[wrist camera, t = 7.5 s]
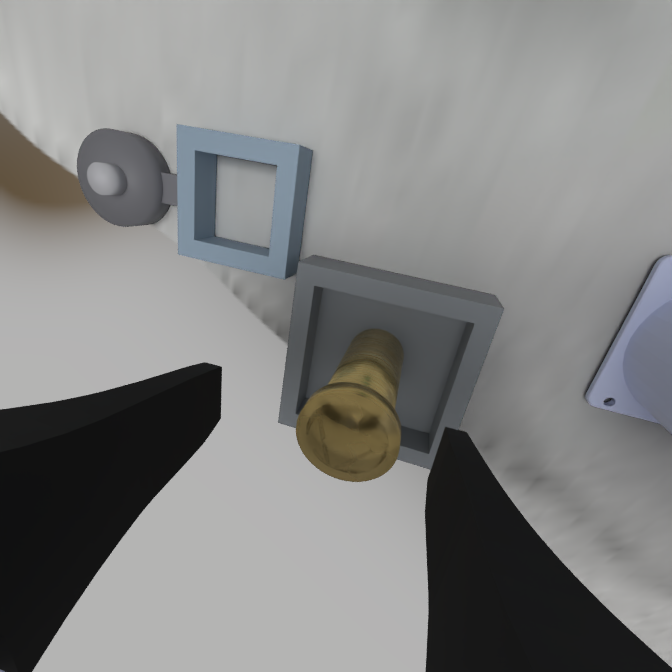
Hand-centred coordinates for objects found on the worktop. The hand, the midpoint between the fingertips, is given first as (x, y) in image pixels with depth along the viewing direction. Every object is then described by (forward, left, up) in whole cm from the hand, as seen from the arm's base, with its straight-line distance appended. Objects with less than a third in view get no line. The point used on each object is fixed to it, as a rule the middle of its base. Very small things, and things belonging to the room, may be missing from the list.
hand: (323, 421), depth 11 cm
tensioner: (+11, -5, -10) cm, 16 cm away
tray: (-1, +2, -10) cm, 11 cm away
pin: (-1, +2, -10) cm, 10 cm away
